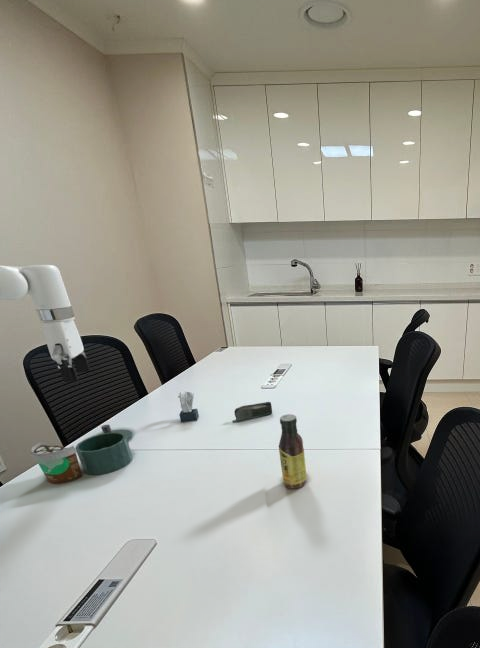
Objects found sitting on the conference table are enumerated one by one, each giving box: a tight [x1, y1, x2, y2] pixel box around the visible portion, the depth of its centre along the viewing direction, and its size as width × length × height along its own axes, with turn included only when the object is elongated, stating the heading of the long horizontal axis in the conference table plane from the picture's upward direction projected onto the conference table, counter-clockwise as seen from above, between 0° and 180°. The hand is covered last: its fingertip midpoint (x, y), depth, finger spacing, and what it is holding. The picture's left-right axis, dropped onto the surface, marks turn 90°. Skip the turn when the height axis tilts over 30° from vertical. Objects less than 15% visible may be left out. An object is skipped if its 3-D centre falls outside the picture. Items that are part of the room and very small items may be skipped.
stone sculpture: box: [177, 390, 200, 423], centre depth 143 cm, size 6×8×11 cm
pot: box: [74, 432, 133, 476], centre depth 115 cm, size 12×12×8 cm
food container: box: [30, 441, 83, 485], centre depth 106 cm, size 12×6×10 cm, turn 76°
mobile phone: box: [232, 401, 273, 423], centre depth 144 cm, size 5×3×15 cm
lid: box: [97, 424, 133, 442], centre depth 129 cm, size 13×13×6 cm
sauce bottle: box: [278, 413, 307, 489], centre depth 100 cm, size 7×6×20 cm
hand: (78, 376), depth 109 cm, fingers open, 9 cm apart
